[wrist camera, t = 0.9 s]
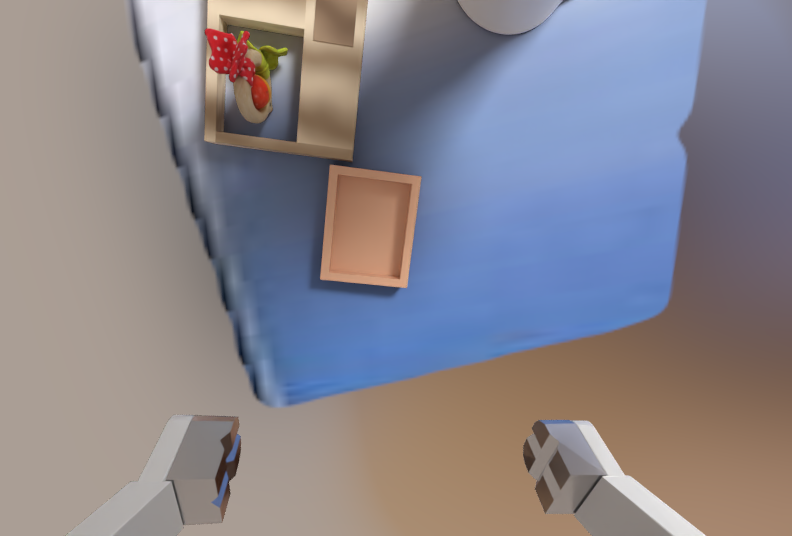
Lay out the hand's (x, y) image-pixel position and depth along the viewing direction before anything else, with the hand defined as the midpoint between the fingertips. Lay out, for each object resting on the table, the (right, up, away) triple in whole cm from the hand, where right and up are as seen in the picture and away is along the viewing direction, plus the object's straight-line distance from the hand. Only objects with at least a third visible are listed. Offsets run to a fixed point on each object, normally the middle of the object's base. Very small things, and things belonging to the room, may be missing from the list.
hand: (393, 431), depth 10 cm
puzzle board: (-12, +29, +33) cm, 46 cm away
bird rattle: (-15, +26, +34) cm, 45 cm away
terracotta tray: (-3, +10, +38) cm, 40 cm away
